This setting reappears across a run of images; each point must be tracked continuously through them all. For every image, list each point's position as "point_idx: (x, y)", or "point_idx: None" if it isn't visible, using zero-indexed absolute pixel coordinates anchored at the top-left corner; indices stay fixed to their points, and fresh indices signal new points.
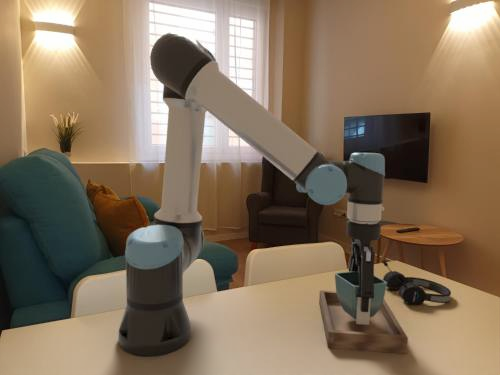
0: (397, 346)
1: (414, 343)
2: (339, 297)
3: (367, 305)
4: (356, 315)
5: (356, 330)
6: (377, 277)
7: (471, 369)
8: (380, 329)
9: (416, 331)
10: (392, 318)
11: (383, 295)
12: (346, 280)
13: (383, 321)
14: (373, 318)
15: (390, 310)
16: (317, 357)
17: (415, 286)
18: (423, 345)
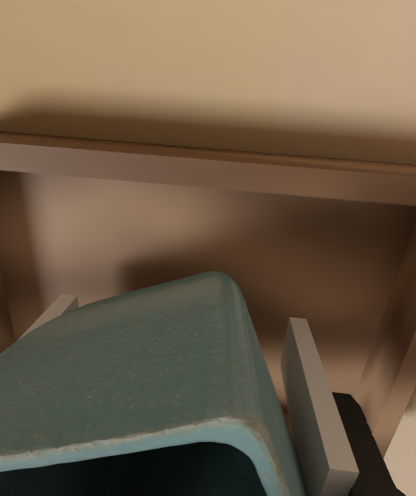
0: None
1: (358, 82)
2: (150, 458)
3: (371, 443)
4: (286, 391)
5: (271, 331)
6: (61, 461)
7: None
8: (262, 233)
9: (229, 8)
10: (259, 187)
11: (248, 327)
12: None
13: (176, 190)
14: (150, 229)
15: (144, 158)
16: (401, 450)
17: None
18: (384, 34)
